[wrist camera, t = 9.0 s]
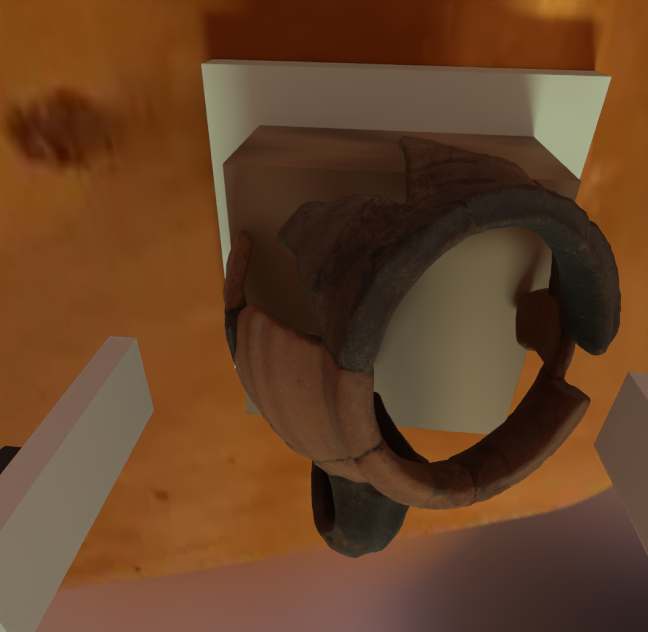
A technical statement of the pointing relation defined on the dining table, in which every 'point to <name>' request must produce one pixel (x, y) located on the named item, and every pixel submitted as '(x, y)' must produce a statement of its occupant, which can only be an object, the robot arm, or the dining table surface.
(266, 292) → the walnut block
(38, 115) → the dining table surface
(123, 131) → the dining table surface
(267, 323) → the pottery mug
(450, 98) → the build board
